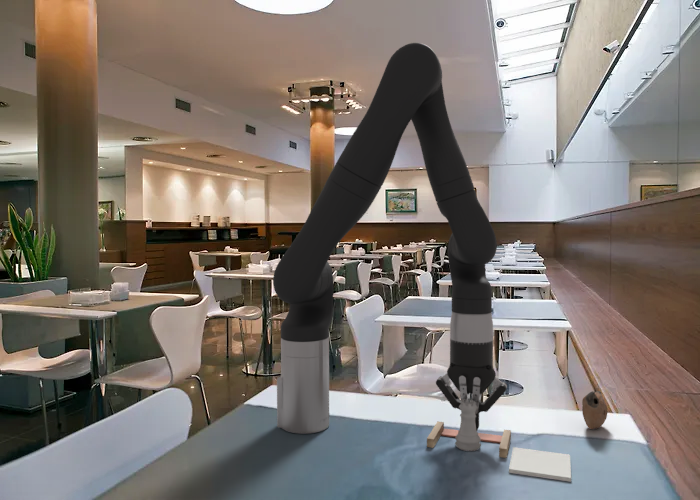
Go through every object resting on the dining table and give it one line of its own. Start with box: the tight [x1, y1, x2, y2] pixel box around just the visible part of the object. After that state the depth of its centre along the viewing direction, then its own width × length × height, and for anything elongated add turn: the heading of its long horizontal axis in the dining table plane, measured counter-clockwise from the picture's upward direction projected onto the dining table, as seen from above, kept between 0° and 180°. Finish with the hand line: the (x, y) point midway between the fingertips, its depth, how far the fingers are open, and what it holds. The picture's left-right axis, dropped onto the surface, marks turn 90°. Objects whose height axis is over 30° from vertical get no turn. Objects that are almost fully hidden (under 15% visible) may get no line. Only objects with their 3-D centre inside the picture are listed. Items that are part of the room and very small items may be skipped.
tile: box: [508, 446, 572, 483], centre depth 88 cm, size 9×9×1 cm
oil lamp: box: [581, 390, 608, 430], centre depth 103 cm, size 9×4×8 cm, turn 147°
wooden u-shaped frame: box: [426, 421, 512, 459], centre depth 97 cm, size 13×9×2 cm
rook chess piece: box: [454, 399, 482, 452], centre depth 95 cm, size 4×4×8 cm
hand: (470, 432), depth 99 cm, fingers closed
